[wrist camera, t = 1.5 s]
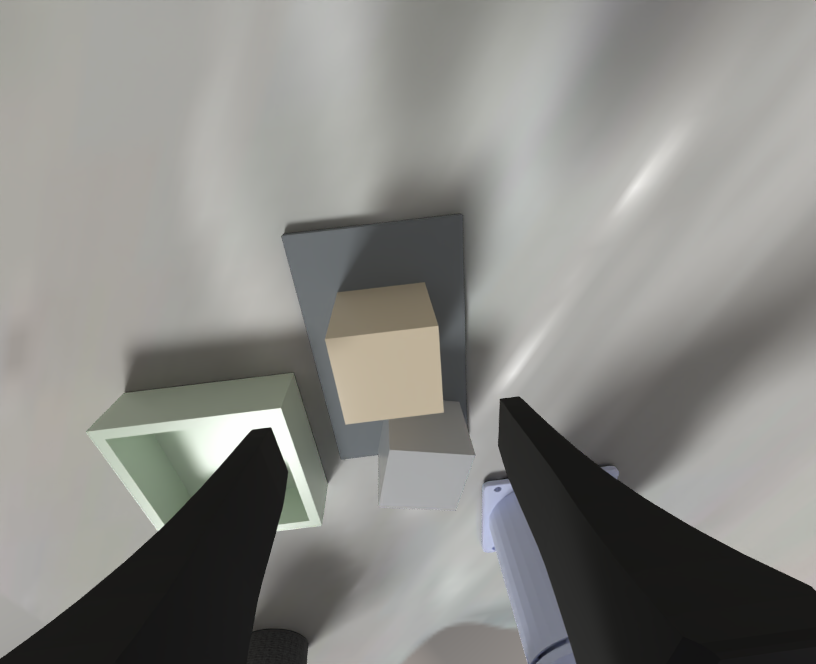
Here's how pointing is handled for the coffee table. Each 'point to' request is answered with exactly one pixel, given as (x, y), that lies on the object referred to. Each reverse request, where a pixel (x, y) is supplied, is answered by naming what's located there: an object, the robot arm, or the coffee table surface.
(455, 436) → the matte grey cube
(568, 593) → the robot arm
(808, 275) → the coffee table surface
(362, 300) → the tan wooden cube
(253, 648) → the coffee cup
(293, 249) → the slate mat
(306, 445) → the green bin
